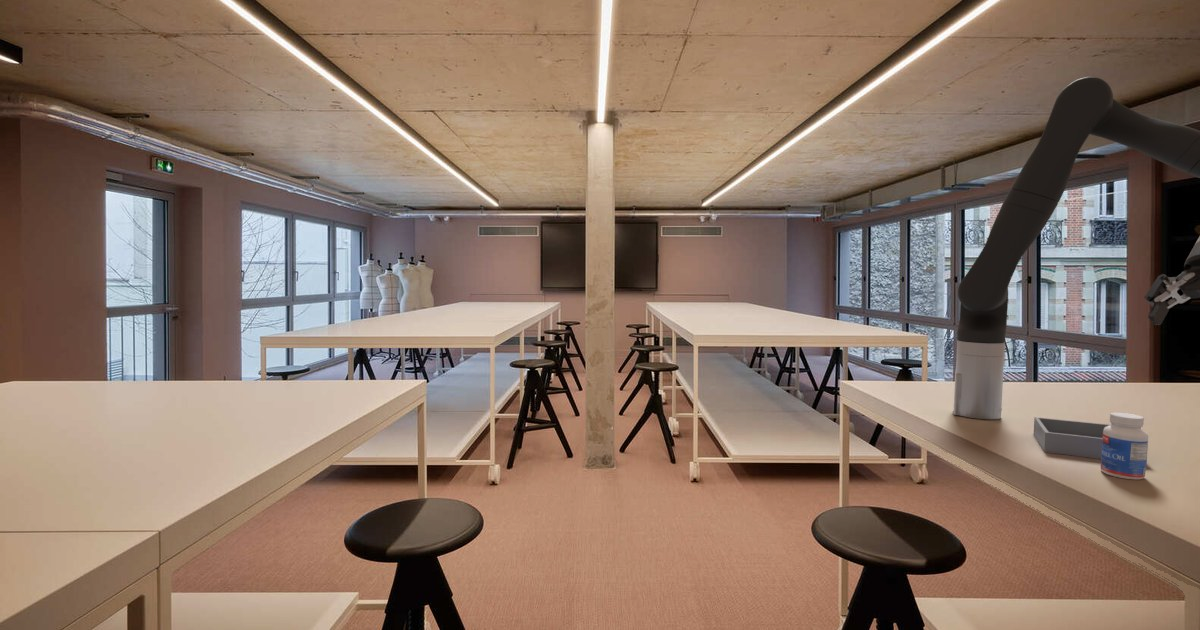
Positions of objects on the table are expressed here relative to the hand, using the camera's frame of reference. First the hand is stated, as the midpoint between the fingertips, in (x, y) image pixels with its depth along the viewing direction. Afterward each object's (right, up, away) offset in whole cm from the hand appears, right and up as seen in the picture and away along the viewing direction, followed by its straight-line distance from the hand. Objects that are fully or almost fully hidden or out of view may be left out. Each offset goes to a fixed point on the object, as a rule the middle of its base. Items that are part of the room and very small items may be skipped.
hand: (1183, 322), depth 100 cm
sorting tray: (-9, -24, +9) cm, 27 cm away
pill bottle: (-15, -25, -6) cm, 30 cm away
